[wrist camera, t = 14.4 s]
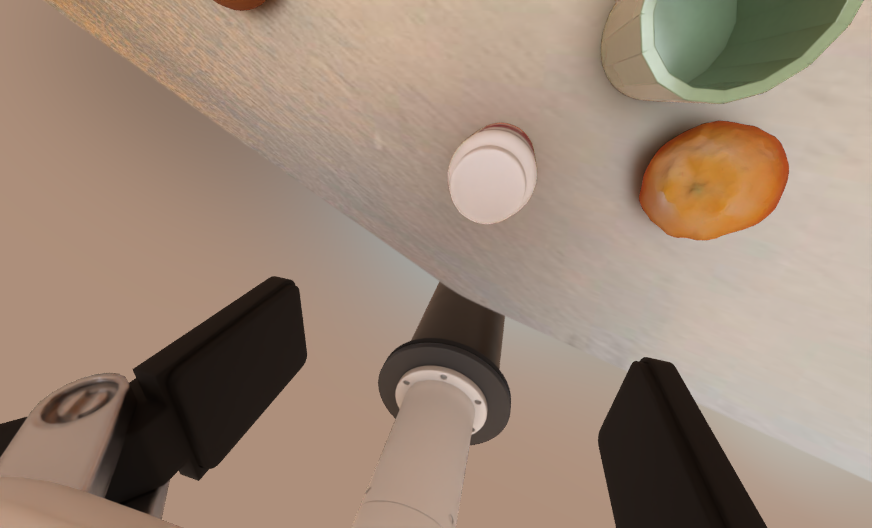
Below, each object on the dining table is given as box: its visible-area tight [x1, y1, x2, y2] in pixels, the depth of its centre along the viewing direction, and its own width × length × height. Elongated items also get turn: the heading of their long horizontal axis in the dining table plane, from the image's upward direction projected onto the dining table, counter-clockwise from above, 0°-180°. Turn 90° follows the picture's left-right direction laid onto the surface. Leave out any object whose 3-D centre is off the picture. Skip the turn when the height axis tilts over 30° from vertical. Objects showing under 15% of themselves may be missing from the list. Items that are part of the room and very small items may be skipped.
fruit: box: [639, 121, 789, 240], centre depth 24 cm, size 8×8×8 cm
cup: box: [601, 0, 864, 104], centre depth 19 cm, size 8×8×10 cm
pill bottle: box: [448, 123, 537, 224], centre depth 25 cm, size 6×6×11 cm
